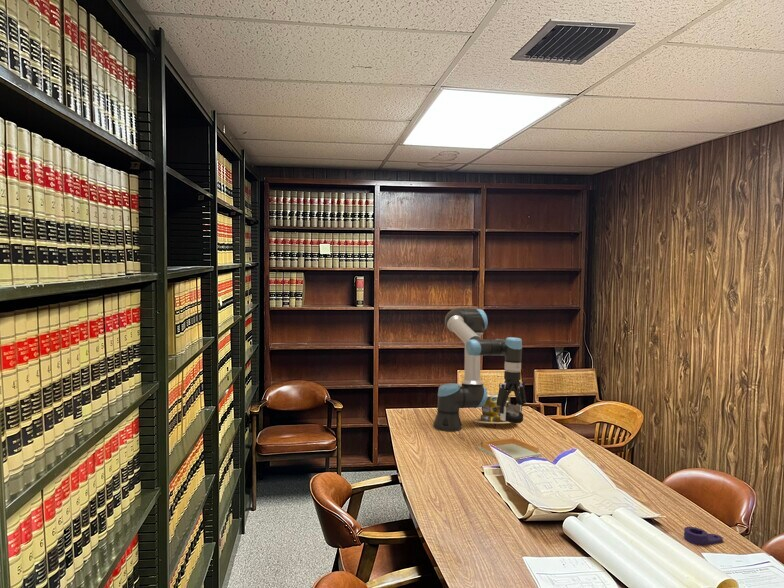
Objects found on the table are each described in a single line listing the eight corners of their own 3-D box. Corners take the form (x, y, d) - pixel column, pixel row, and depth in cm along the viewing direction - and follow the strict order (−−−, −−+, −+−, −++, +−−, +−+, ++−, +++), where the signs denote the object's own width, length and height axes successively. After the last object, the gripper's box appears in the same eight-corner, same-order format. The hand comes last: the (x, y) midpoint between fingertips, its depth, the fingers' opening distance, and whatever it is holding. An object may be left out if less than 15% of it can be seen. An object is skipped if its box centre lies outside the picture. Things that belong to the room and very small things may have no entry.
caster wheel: (518, 429, 237) (497, 422, 242) (527, 419, 246) (507, 413, 251) (519, 416, 235) (499, 409, 240) (529, 407, 244) (508, 400, 249)
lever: (693, 546, 160) (694, 536, 160) (679, 536, 167) (679, 527, 166) (728, 545, 162) (729, 535, 162) (713, 535, 168) (713, 526, 168)
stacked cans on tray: (466, 418, 305) (467, 390, 304) (505, 417, 310) (506, 389, 310) (483, 430, 281) (484, 399, 280) (525, 429, 286) (527, 398, 286)
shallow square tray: (477, 448, 248) (478, 441, 248) (511, 443, 258) (512, 436, 258) (506, 462, 230) (506, 453, 230) (541, 456, 241) (541, 448, 240)
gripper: (500, 373, 235) (498, 423, 235) (535, 371, 245) (533, 419, 246) (489, 370, 242) (487, 419, 242) (524, 368, 252) (522, 415, 252)
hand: (510, 419), depth 244 cm, fingers closed on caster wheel, 9 cm apart
